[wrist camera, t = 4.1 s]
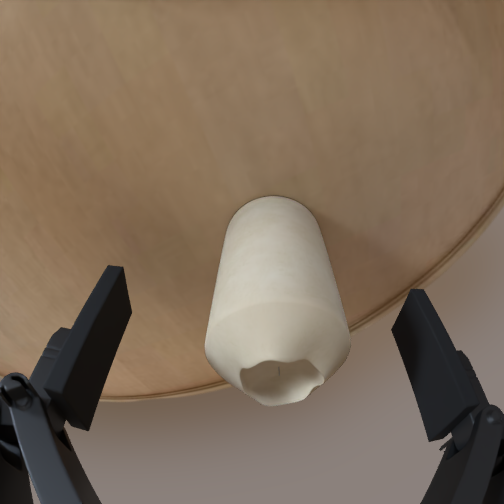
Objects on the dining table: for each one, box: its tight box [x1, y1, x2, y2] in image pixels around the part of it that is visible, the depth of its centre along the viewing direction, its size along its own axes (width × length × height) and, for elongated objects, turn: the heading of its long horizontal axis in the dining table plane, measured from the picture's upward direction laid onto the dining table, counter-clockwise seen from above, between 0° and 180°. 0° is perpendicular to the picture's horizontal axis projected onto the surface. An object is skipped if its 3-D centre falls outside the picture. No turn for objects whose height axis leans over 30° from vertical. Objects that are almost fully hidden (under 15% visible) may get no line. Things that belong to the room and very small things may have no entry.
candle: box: [205, 196, 351, 406], centre depth 14 cm, size 6×6×10 cm
